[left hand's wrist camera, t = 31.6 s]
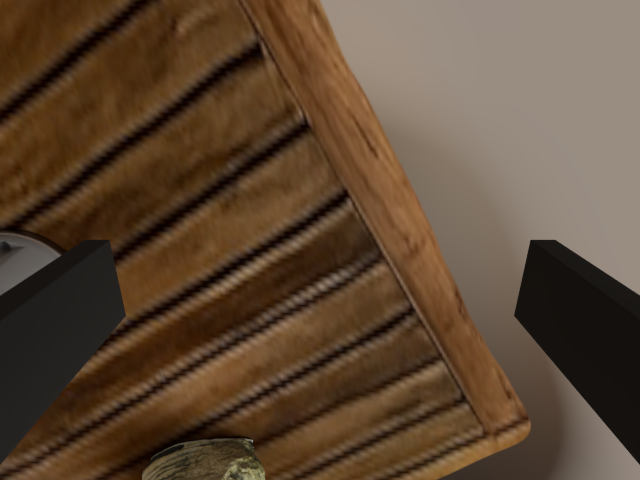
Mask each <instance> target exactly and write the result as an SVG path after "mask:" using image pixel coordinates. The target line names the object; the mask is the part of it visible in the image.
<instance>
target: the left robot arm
mask: <svg viewBox="0 0 640 480" xmlns="http://www.w3.org/2000/svg"><path fill="white" fill-rule="evenodd" d="M125 316H126V314H125V310H124V305H123V300H122V296H121V291H120V287H119V282H118V277H117V273H116V268H115V264H114V259H113V254H112V250H111V245H110V241H109V240H84V241H82V242H81V243H79V244H78V245H76V246H75V247H73V248H72V249H70V250H69V251H67V252H66V251H65V250H63V249H62V248H61V247H59V246H58V245H56V244H55V243H53V242H51V241H50V240H48V239H46V238H43V237H41V236H39V235H36V234H33V233H30V232H26V231H20V230H0V464H1V463H2V462H3V461H4V460H5V458H6V457H7V456H8V455H9V454H10V453H11V451H12V450H13V449H14V448H15V447H16V445H17V444H18V443H19V442H20V441H21V439H22V438H23V437H24V436H25V435H26V434H27V432H28V431H29V430H30V429H31V428H32V426H33V425H34V424H35V423H36V422H37V420H38V419H39V418H40V417H41V416H42V415H43V413H44V412H45V411H46V410H47V409H48V407H49V406H50V405H51V404H52V403H53V402H54V400H55V399H56V398H57V397H58V396H59V394H60V393H61V392H62V391H63V390H64V388H65V387H66V386H67V385H68V384H69V383H70V381H71V380H72V379H73V378H74V377H75V375H76V374H77V373H78V372H79V371H80V369H81V368H82V367H83V366H84V365H85V364H86V362H87V361H88V360H89V359H90V358H91V356H92V355H93V354H94V353H95V352H96V351H97V349H98V348H99V347H100V346H101V345H102V343H103V342H104V341H105V340H106V339H107V337H108V336H109V335H110V334H111V333H112V332H113V330H114V329H115V328H116V327H117V326H118V324H119V323H120V322H121V321H122V320H123V318H124V317H125ZM514 316H515V317H516V318H517V320H518V321H519V322H520V323H521V324H522V326H523V327H524V328H525V329H526V330H527V332H528V333H529V334H530V335H531V336H532V337H533V339H534V340H535V341H536V342H537V343H538V345H539V346H540V347H541V348H542V349H543V351H544V352H545V353H546V354H547V355H548V356H549V358H550V359H551V360H552V361H553V362H554V364H555V365H556V366H557V367H558V368H559V369H560V371H561V372H562V373H563V374H564V375H565V377H566V378H567V379H568V380H569V381H570V383H571V384H572V385H573V386H574V387H575V388H576V390H577V391H578V392H579V393H580V394H581V396H582V397H583V398H584V399H585V400H586V401H587V403H588V404H589V405H590V406H591V407H592V409H593V410H594V411H595V412H596V413H597V415H598V416H599V417H600V418H601V419H602V420H603V422H604V423H605V424H606V425H607V426H608V428H609V429H610V430H611V431H612V432H613V434H614V435H615V436H616V437H617V438H618V439H619V441H620V442H621V443H622V444H623V445H624V446H625V448H626V449H627V450H628V451H629V453H630V454H631V455H632V456H633V457H634V458H635V460H636V461H637V462H638V463H639V464H640V295H638V294H637V293H635V292H634V291H632V290H631V289H629V288H627V287H626V286H625V285H623V284H621V283H620V282H618V281H617V280H615V279H614V278H612V277H611V276H609V275H608V274H606V273H605V272H603V271H602V270H600V269H599V268H597V267H596V266H594V265H593V264H591V263H590V262H588V261H586V260H585V259H583V258H582V257H580V256H579V255H577V254H576V253H574V252H573V251H571V250H570V249H568V248H567V247H565V246H564V245H562V244H561V243H559V242H558V241H556V240H531V241H530V245H529V250H528V254H527V259H526V264H525V268H524V273H523V277H522V282H521V287H520V291H519V296H518V300H517V305H516V310H515V314H514Z"/></svg>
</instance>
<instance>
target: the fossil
mask: <svg viewBox="0 0 640 480" xmlns="http://www.w3.org/2000/svg"><path fill="white" fill-rule="evenodd" d="M252 444H253V440H250V439H244V438H239V439H233V438H224V439H213V440H197V441H190V442H184V443H179V444H176V445H173V446H171V447H169V448H167V449H165V450H164V451H162V452H160V453H157V454H156V455H155V456H153V457H152V458H151V461H150V463H149V465H148V466H147V467H146V468H145V469H144V470H143V473H142V480H265V470H264V468H263V465H262V464H261V463H260V461H259V460H258V459H257V457H256V456H255V455H254V447H253V445H252Z"/></svg>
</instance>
